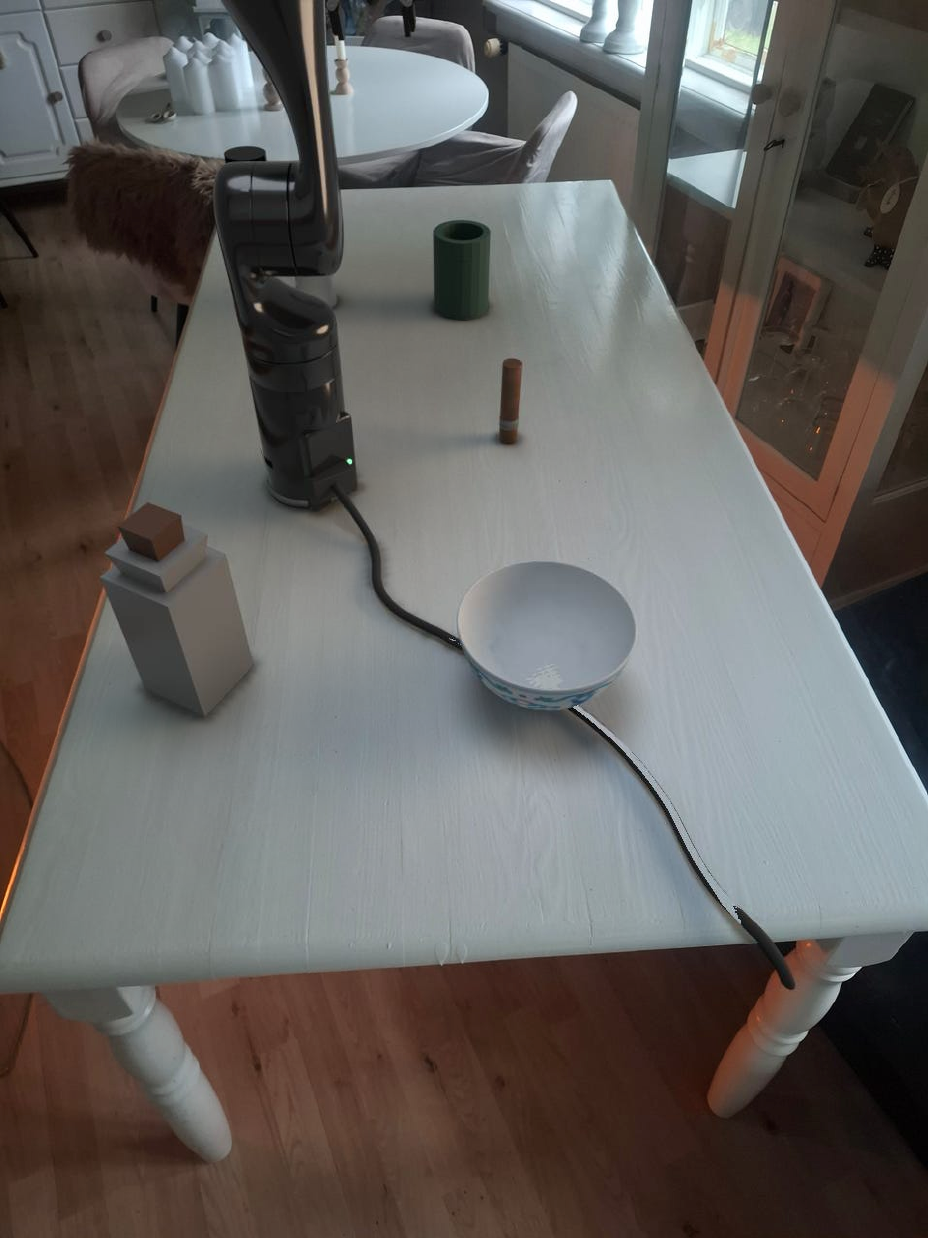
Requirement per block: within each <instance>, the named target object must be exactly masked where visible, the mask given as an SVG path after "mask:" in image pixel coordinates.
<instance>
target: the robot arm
mask: <svg viewBox="0 0 928 1238" xmlns="http://www.w3.org/2000/svg"><path fill="white" fill-rule="evenodd" d="M219 1H220V3H221V5H222V6H223V7H224V9H225V10H226V12H227V14H228V15H229V17H230V19H231V21H232V22H233V23H234V25H235V26H236V28H237V29H238V31H239V32H240V33H239V34H241V36H242V37H243V39H244V40H245V42H246V43H247V45H248V46H249V48H250V49H251V51H252V53H253V54H254V56H255V57H256V58H257V60H258V62H259V64H260V65H261V67H262V68H263V70H264V71H265V73H266V75H267V77H268V78H269V81H270V82H271V85H272V86H273V88H274V90H275V92H276V94H277V96H278V98H279V100H280V102H281V104H282V106H283V108H284V111H285V113H286V116H287V118H288V121H289V124H290V127H291V130H292V133H293V136H294V137H293V138H294V140H295V144H296V148H297V154H298V161H267V162H230V163H226V164H225V163H224V164H222V165H221V166H220V167H219V168H218V170H217V172H216V174H215V176H214V181H213V185H212V209H213V217H214V224H215V230H216V234H217V238H218V244H219V247H220V251H221V255H222V260H223V263H224V267H225V270H226V274H227V278H228V283H229V288H230V292H231V296H232V301H233V306H234V310H235V315H236V319H237V320H236V321H237V323H238V328H239V331H240V336H241V340H242V346H243V351H244V356H245V362H246V367H247V371H248V372H247V374H248V379H249V383H250V384H249V385H250V390H251V395H252V400H253V407H254V411H255V417H256V422H257V427H258V432H259V433H258V434H259V438H260V444H261V447H259V451H260V454H261V457H262V461H263V464H264V467H265V471H266V477H267V478H266V480H267V485H268V490H269V493H270V494H271V495H272V496H273V498H275V499H277V501H279V502H281V503H283V504H285V505H289V506H292V507H297V508H308V509H311V510H312V511H313V512H318V511H320V510H322V509H324V508H326V507H328V506H329V505H331V504H332V503H334V502H336V501H338V500H339V501H340V502H341V503H342V505H343V507H344V508H345V509H346V511H347V513H348V514H349V515H350V516H351V518H352V520H353V521H354V523H355V524H356V526H357V527H358V529H359V530H360V532H361V533H362V535H363V537H364V539H365V541H366V542H367V545H368V548H369V551H370V555H371V579H372V586H373V589H374V592H375V594H376V596H377V597H378V598H379V600H380V601H381V603H382V604H383V606H385V608H387V609H388V610H389V611H390V612H392V614H394V615H395V616H397V617H398V618H399V619H401V620H403V621H405V622H406V623H408V624H410V625H411V626H414V627H416V628H418V629H419V630H421V631H424V632H426V633H428V634H429V635H431V636H434V637H436V638H438V639H439V640H442V641H443V642H445V643H446V644H449V645H450V646H452V647H454V648H455V649H457V650H459V651H461V652H463V653H464V651H463V649H462V646H461V645H460V644H461V643H460V640H459V639H458V638H459V637H457V636H455V635H453V634H451V633H450V632H448V631H446V630H444V629H443V628H440V627H438V626H436V625H434V624H432V623H431V622H428V621H427V620H424V619H422V618H420V617H418V616H416V615H414V614H412V613H410V612H409V611H407V610H406V609H404V608H403V607H402V606H400V605H399V604H397V602H395V601H394V600H393V598H392V597H390V595H389V594H388V592H387V591H386V589H385V587H384V585H383V582H382V564H381V562H382V561H381V552H380V549H379V544H378V542H377V539H376V537H375V535H374V533H373V532H372V530H371V528H370V526H369V525H368V523H367V522H366V520H365V519H364V517H363V516H362V514H361V513H360V511H359V510H358V508H357V507H356V506H355V504H354V503H353V501H352V500H351V499H350V497H349V496H348V495H347V494H350V493H351V492H353V491H354V490H356V489H358V487H359V485H358V474H357V472H358V471H357V464H356V453H355V440H354V431H353V421H352V415H351V414H350V413H349V412H347V411H346V404H345V395H344V394H345V393H344V383H343V374H342V364H341V363H342V362H341V352H340V342H339V332H338V331H339V330H338V322H337V316H336V314H335V312H334V309H333V308H331V307H330V305H329V304H327V303H326V302H325V301H324V300H322V299H321V298H319V297H317V296H315V295H312V294H309V293H307V292H304V291H301V290H299V289H297V288H296V287H294V286H292V285H290V284H288V283H287V282H285V281H283V280H282V279H281V278H285V277H286V278H295V277H300V276H301V277H323V276H331V275H332V276H333V275H335V274H336V273H337V272H338V271H339V269H340V267H341V265H342V262H343V257H344V249H345V223H344V222H345V221H344V211H343V199H342V191H341V190H342V189H341V182H340V172H339V162H338V154H337V144H336V135H335V127H334V126H335V125H334V117H333V107H332V99H331V89H330V78H329V77H330V76H329V63H328V43H327V41H328V40H327V20H326V11H327V12H328V17H329V23H330V28H331V32H332V34H333V36H334V37H337V39H338V41H339V42H343V41H345V40H346V34H347V32H346V24H345V19H344V13H343V7H342V4H341V0H219ZM418 1H419V0H399V2H401V15H402V22H403V31H404V37H405V38H412V33H415V31H416V26H417V17H416V7H415V3H416V2H418ZM421 1H423V0H420V2H421ZM456 637H457V638H456ZM449 638H450V639H453V640H456V641H452V640H450V639H449ZM458 643H459V644H458ZM566 710H568V711H569V712H571V713H572V714H573V715H575V716H576V717H578V718H579V719H580V720H581V721H583V723H585V724H586V725H588V727H590V728H591V729H592V730H593V731H595V733H597V734H598V735H599V736H600V737H602V738H603V740H604V741H606V742H607V743H608V744H609V745H610V746H611V747H612V748H613V749H614V750H615V751H616V752H617V753H618V754H619V755H620V756H621V757H622V758H623V760H624V761H625V762H626V763H627V764H628V765H629V767H631V769H632V770H633V771H634V772H635V774H636V775H637V776H638V777H639V779H640V780H641V782H642V783H643V784H644V785H645V786H646V788H647V789H648V791H649V792H650V793H651V795H652V796H653V798H654V799H655V800H656V802H657V803H658V805H659V807H660V808H661V810H662V812H663V813H664V815H665V817H666V819H667V820H668V822H669V824H670V827H671V828H672V830H673V832H674V835H675V836H676V838H677V841H678V843H679V844H680V845H679V846H680V847H681V849H682V851H683V853H684V855H685V857H686V858H687V860H688V862H689V864H690V866H691V868H692V869H693V871H694V872H695V874H696V875H697V877H698V878H699V880H700V882H701V883H702V884H703V886H704V887H705V889H706V890H707V891H708V892H709V894H710V895H711V896H712V897H713V899H714V900H715V901H716V902H717V904H719V906H721V907H722V908H723V909H724V910H725V912H727V913H728V914H729V915H730V913H729V912H728V911H727V910H726V908H725V907H724V906H723V905H722V903H721V902H720V900H719V899H718V897H717V895H716V894H715V892H714V891H713V889H712V888H711V886H710V885H709V883H708V882H707V880H706V879H705V877H704V876H703V874H702V873H701V871H700V870H699V868H698V866H697V865H696V863H695V861H694V860H693V858H692V856H691V854H690V852H689V851H688V849H687V847H686V845H685V843H684V841H683V839H682V837H681V835H680V833H679V831H678V829H677V827H676V825H675V823H674V821H673V819H672V817H671V815H670V813H669V811H668V809H667V808H666V806H665V804H664V803H663V801H662V800H661V798H660V797H659V795H658V794H657V792H656V791H655V790H654V788H653V787H652V785H651V784H650V783H649V781H648V780H647V779H646V778H645V776H644V775H643V774H642V772H641V771H640V770H639V769H638V767H637V766H636V765H635V764H634V763H633V761H632V760H631V759H630V758H629V757H628V756H627V755H626V753H625V752H624V751H623V750H622V749H621V748H620V747H619V746H618V745H617V744H616V743H615V742H614V741H613V740H612V739H611V738H610V737H608V736H607V735H606V734H605V733H604V732H603V731H602V730H601V729H599V728H598V727H597V726H596V725H595V724H594V723H592V722H591V721H590V720H589V719H588V718H586V717H585V716H584V715H582V714H581V713H580V712H578V711H577V710H576V709H574V708H573V707H570V708H566ZM591 715H592V716H594V715H593V714H591ZM603 725H604V726H606V725H605V724H603ZM611 732H612V733H613V734H615V733H614V732H613V731H611ZM632 753H633V754H634V755H635V756H636V754H635V753H634V752H633V751H632ZM636 757H637V756H636ZM639 761H640V762H641V763H642V764H643V762H642V761H641V760H640V759H639ZM644 767H645V768H646V769H647V770H648V768H647V767H646V766H645V765H644ZM648 772H649V773H650V774H651V772H650V771H649V770H648ZM652 777H653V778H654V779H655V777H654V776H653V775H652ZM655 781H656V782H657V783H658V781H657V780H656V779H655ZM658 785H659V786H660V787H661V785H660V784H659V783H658ZM661 789H662V790H663V788H662V787H661ZM663 792H664V793H665V794H666V792H665V791H664V790H663ZM666 796H667V797H668V795H667V794H666ZM668 799H669V800H670V798H669V797H668ZM670 802H671V804H672V805H673V807H674V809H675V811H676V812H677V814H678V816H679V818H680V820H681V822H682V824H683V826H684V828H685V830H686V832H687V834H688V836H689V838H690V840H691V842H692V844H693V846H694V848H695V849H696V851H697V853H698V855H699V857H700V858H701V860H702V862H703V863H704V865H705V867H706V868H707V870H708V871H709V873H710V874H711V876H712V877H713V878H714V876H713V875H712V873H711V871H710V870H709V869H708V867H707V865H706V863H705V862H704V861H703V859H702V857H701V856H700V854H699V852H698V850H697V848H696V846H695V844H694V842H693V840H692V839H691V836H690V834H689V833H688V830H687V829H686V826H685V824H684V823H683V820H682V819H681V817H680V815H679V813H678V811H677V810H676V807H675V806H674V804H673V803H672V801H671V800H670ZM714 880H715V881H716V882H717V880H716V879H715V878H714ZM717 884H718V885H719V886H720V887H721V885H720V884H719V883H718V882H717ZM723 891H724V892H725V893H726V891H725V890H724V889H723ZM733 907H734V909H735V910H737V911H735V913H737V915H738V919H740V920H741V925H742V926H743V927H742V926H741V925H740V926H741V927H742V928H743V929H744V931H746V932H747V933H748V934H749V935H750V936H751V937H752V939H753V940H754V941H755V942H756V943H757V945H759V946H760V948H761V950H762V951H763V952H764V954H765V955H766V956H767V958H768V959H769V960H770V962H771V964H772V965H773V968H774V969H775V972H776V973H777V975H778V978H779V981H780V983H781V985H782V986H783V987H784V988H785V989H787V990H789V991H793V990H795V988H796V986H797V985H796V981H795V979H794V976H793V973H792V971H791V969H790V967H789V964H788V963H787V961H786V959H785V958H784V956H783V954H782V952H781V951H780V949H779V948H778V946H777V945H776V943H775V942H774V941H773V939H772V938H771V937H770V936H769V935H768V933H766V931H765V930H764V929H763V928H762V927H761V926H760V925H759V924H758V923H757V922H756V921H755V920H754V919H753V918H752V917H751V916H750V915H748V914H747V912H746V911H744V909H742V908H741V907H740V908H741V909H740V908H738V907H737V908H735V907H736V906H733ZM749 916H750V917H751V918H752V919H753V920H754V921H755V922H754V921H753V920H752V919H751V918H750V917H749Z"/></svg>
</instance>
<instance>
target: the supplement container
mask: <svg viewBox="0 0 928 1238" xmlns="http://www.w3.org/2000/svg"><path fill="white" fill-rule="evenodd" d="M223 158H224V164H226V163H230V162H268V158H267V151H266V150H265V149H264V148H263V147H260V146H256V145H255V146H253V145H241V146H234V147H231V148H228V149H226V150H225V151H224V152H223Z"/></svg>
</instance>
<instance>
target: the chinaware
mask: <svg viewBox="0 0 928 1238" xmlns="http://www.w3.org/2000/svg"><path fill="white" fill-rule="evenodd" d="M456 630H457V635H458V638H459V639H460V643H461V646H462V649H463V651H464V652H463V651H462V652H463V654H464V656H465V658H466V660H467V662H468V664H469V666H470V667H471V669H472V671H473V672H474V674H475V675H476V676H477V678H478V679H479V680H480V681H481V682H482V684H484V685H485V686H486V688H488V689H489V690H490V691H492V692H493V693H494V694H496V695H497V696H498V697H500V698H501V699H503V700H505V701H506V702H509V703H511V704H513V705H516V706H519V707H522V708H525V709H529V710H535V711H546V712H547V711H548V712H549V711H559V710H565V709H566V708H570V707H574V706H577V705H579V706H581V705H582V704H585V703H586V702H589V701H590V700H592V699H594V698H595V697H597V696H598V695H600V694H601V693H603V692H604V691H605V690H606V689H608V688H609V687H610V686H611V685H612V684H613V683H614V681H615V680H617V678H618V677H619V676H620V675H621V673H622V672H623V670H624V669H625V667H626V666H627V664H628V662H629V661H630V659H631V657H632V656H633V653H634V651H635V648H636V645H637V640H638V623H637V618H636V615H635V612H634V609H633V608H632V606H631V604H630V602H629V601H628V599H627V597H626V596H625V595H624V594H623V593H622V592H621V590H619V589H618V588H617V587H616V586H615V585H613V583H611V582H610V581H609V580H607V579H606V578H604V577H602V576H601V575H600V574H599V573H596V572H594V571H592V570H590V569H587V568H584V567H582V566H579V565H575V564H572V563H568V562H563V561H559V560H558V561H557V560H550V559H549V560H548V559H547V560H546V559H534V560H533V559H531V560H523V561H522V560H521V561H517V562H513V563H508V564H506V565H502V566H500V567H497V568H495V569H493V570H491V571H489V572H487V573H485V574H483V575H482V576H481V577H480V578H478V579H477V580H476V581H474V583H473V584H472V585H470V587H469V588H468V589H467V590H466V592H464V595H463V597H462V598H461V600H460V603H459V605H458V609H457V614H456ZM544 662H546V663H544ZM550 664H555V665H552V666H549V668H553V667H559V668H555V669H553V670H552V671H557V673H556V674H555V675H560V676H559V677H558V678H561V680H564V681H562V682H561V683H559V684H557V686H556V687H558V688H560V689H552V688H548V689H544V688H540V687H541V686H542V685H538V686H537V687H533V686H534V684H535V683H537V682H534V683H533V684H530V683H529V682H530V681H532V680H533V679H531V680H526V679H527V678H536V677H538V676H541V675H543V674H542V673H540V674H539V673H538V672H541V671H543V670H546V669H549V668H544V667H543V666H546V665H550ZM540 667H542V669H541V670H535V669H538V668H540ZM531 671H532V672H531ZM552 671H551V672H552ZM535 673H537V674H536V675H535V676H532V675H533V674H535ZM546 673H549V672H548V671H545V673H544V674H546ZM552 676H554V675H552ZM547 677H550V675H548V676H547ZM540 678H542V677H540ZM566 710H567V709H566Z"/></svg>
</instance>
